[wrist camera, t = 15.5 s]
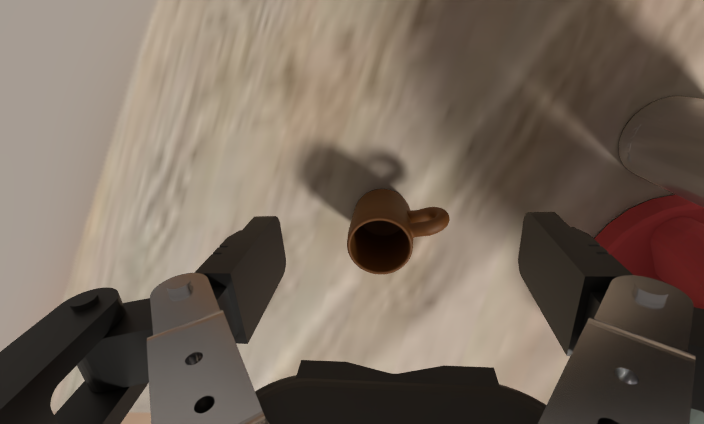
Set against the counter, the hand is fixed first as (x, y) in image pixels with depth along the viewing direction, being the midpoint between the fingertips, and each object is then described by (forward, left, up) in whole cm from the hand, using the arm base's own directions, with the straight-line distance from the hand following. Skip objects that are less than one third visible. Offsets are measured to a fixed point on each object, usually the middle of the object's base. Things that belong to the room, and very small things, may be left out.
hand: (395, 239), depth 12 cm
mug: (0, +13, -33) cm, 36 cm away
